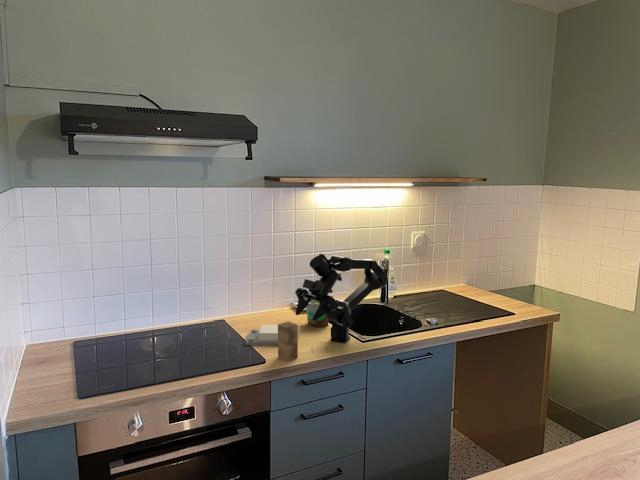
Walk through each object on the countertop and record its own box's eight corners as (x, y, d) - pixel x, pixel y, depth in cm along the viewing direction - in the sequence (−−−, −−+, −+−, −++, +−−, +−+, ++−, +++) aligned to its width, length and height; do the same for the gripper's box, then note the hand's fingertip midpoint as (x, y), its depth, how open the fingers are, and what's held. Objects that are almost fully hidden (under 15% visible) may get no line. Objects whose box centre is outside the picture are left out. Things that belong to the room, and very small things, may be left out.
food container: (299, 325, 216) (299, 303, 214) (306, 321, 221) (306, 299, 220) (324, 329, 210) (324, 306, 208) (331, 325, 215) (331, 303, 214)
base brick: (299, 333, 206) (299, 323, 205) (297, 345, 192) (297, 335, 191) (250, 332, 206) (250, 323, 205) (245, 345, 192) (245, 334, 191)
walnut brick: (288, 353, 183) (288, 321, 181) (297, 357, 180) (297, 324, 178) (278, 357, 180) (277, 324, 178) (287, 361, 176) (286, 327, 174)
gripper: (298, 267, 191) (276, 300, 185) (332, 275, 178) (310, 311, 172) (313, 283, 198) (292, 316, 192) (347, 292, 184) (326, 327, 179)
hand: (304, 317), depth 183 cm, fingers open, 9 cm apart
